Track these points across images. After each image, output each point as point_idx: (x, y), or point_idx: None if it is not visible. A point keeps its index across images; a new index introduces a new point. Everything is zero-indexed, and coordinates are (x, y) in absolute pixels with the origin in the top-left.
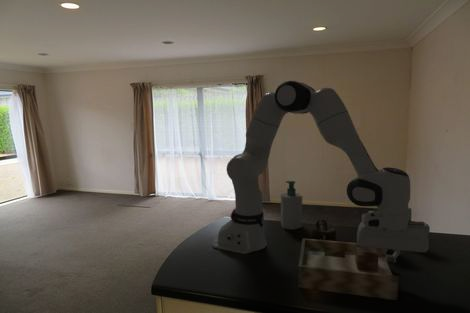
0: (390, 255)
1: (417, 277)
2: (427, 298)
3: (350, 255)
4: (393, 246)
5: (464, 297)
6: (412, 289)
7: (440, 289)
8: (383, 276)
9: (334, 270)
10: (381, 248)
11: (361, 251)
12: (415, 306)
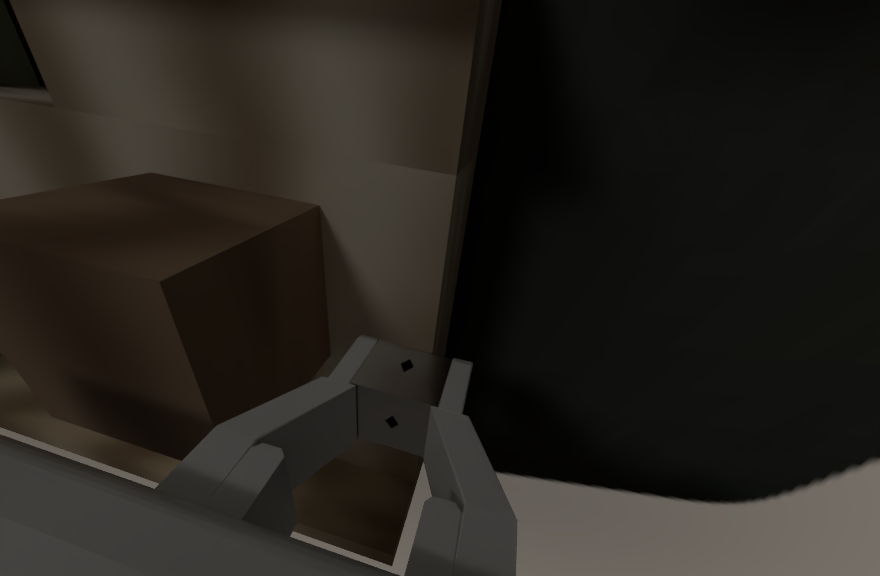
0: (396, 413)
1: (750, 212)
2: (598, 433)
3: (66, 22)
4: None
5: (877, 456)
6: (566, 363)
7: (788, 376)
8: (309, 531)
9: (63, 448)
10: (210, 437)
11: (41, 359)
12: (495, 464)
